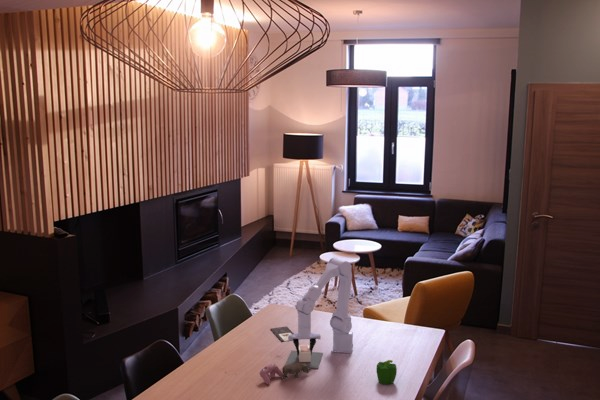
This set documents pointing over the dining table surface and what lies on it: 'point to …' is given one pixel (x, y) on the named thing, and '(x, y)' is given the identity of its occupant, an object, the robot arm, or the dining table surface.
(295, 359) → the charcoal mat
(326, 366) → the dining table surface
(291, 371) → the rhino figurine
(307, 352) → the card deck
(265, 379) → the pink gorilla figurine
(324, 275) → the robot arm
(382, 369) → the bell pepper
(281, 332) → the chocolate bar
